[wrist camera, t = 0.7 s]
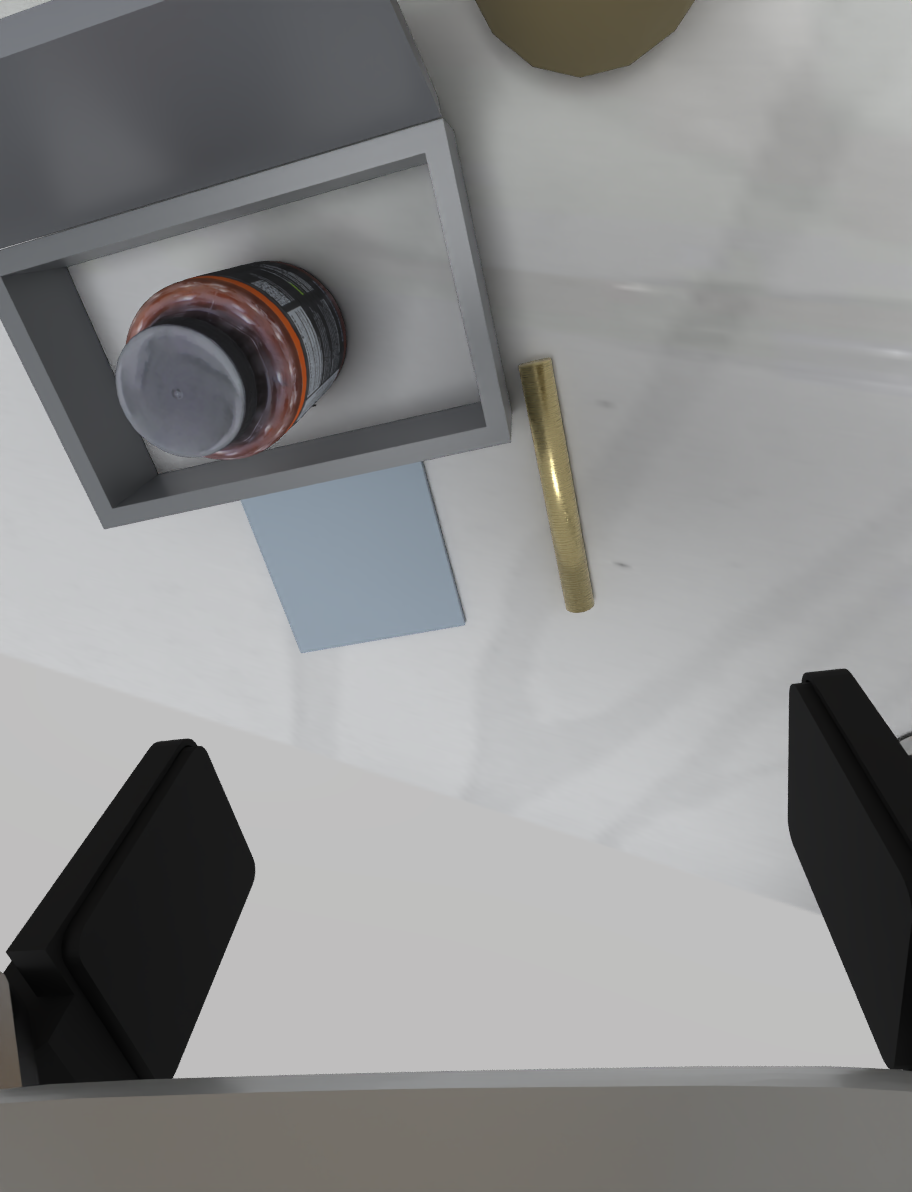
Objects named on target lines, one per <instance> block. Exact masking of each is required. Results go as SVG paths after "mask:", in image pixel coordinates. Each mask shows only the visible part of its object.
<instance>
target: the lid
mask: <svg viewBox="0 0 912 1192" xmlns="http://www.w3.org/2000/svg"><path fill="white" fill-rule="evenodd" d="M440 117H442V116H441V111H440V106H439V101H438V96H437V94H436V91H435V89H434V87H433V84H432V82H431V80H430V77H429V75H428V72H427V70H426V68H425V65H424V63H423V61H422V58H421V56H420V54H419V51H418V49H417V47H416V44H415V42H414V40H413V37H412V35H411V33H410V30H409V28H408V26H407V23H406V21H405V18H404V16H403V14H402V11H401V9H400V7H399V4H398V2H397V0H52V1H49V2H46V3H43V4H41V5H38V6H35V7H32V8H30V9H27V10H24V11H21V12H19V13H16V14H13V15H10V16H8V17H5V18H2V19H0V249H1V248H5V247H8V246H11V245H15V244H18V243H21V242H25V241H28V240H31V239H35V238H38V237H41V236H45V235H48V234H51V233H55V232H58V231H62V230H65V229H68V228H72V227H75V226H78V225H82V224H85V223H88V222H92V221H95V220H98V219H102V218H105V217H108V216H112V215H115V214H118V213H122V212H125V211H128V210H132V209H135V208H138V207H142V206H145V205H149V204H152V203H155V202H159V201H162V200H165V199H169V198H172V197H175V196H179V195H182V194H185V193H189V192H192V191H195V190H199V189H202V188H205V187H209V186H212V185H215V184H219V183H222V182H225V181H229V180H232V179H235V178H239V177H242V176H246V175H249V174H252V173H256V172H259V171H262V170H266V169H269V168H272V167H276V166H279V165H282V164H286V163H289V162H292V161H296V160H299V159H302V158H306V157H309V156H312V155H316V154H319V153H322V152H326V151H329V150H332V149H336V148H339V147H343V146H346V145H349V144H353V143H356V142H359V141H363V140H366V139H369V138H373V137H376V136H379V135H383V134H386V133H389V132H393V131H396V130H399V129H403V128H406V127H409V126H413V125H416V124H419V123H423V122H426V121H430V120H433V119H436V118H440Z"/></svg>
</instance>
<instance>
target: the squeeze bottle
mask: <svg viewBox="0 0 912 1192" xmlns="http://www.w3.org/2000/svg"><path fill="white" fill-rule="evenodd" d="M475 1H476V3H477V5H478V7H479V8H480V10H481V12H482V14H483V16H484V18H485V20H486V22H487V24H488V26H489V27H490V29H491V31H492V33H493V34H494V35H495V36H496V37H497V38H499V39H500V40H501V41H502V42H503V43H505V44H506V45H507V46H508V47H510V48H511V49H512V50H513V51H514V52H516V53H517V54H518V55H519V56H520V57H522V58H523V59H524V60H525V61H527V62H528V63H529V64H530V65H531V66H533V67H537V68H541V69H545V70H550V71H554V72H558V73H563V74H567V75H571V76H576V77H584V76H588V75H592V74H596V73H600V72H604V71H608V70H612V69H616V68H620V67H624V66H628V65H631V64H632V63H633V62H635V61H636V60H637V59H638V58H640V57H641V56H642V55H644V54H645V53H646V52H648V51H649V50H650V49H651V48H653V47H654V46H655V45H657V44H658V43H659V42H661V41H662V40H663V39H665V38H666V37H667V36H668V35H670V34H671V33H672V32H674V31H675V30H676V28H677V27H678V25H679V24H680V22H681V21H682V19H683V18H684V16H685V14H686V13H687V11H688V10H689V8H690V7H691V5H692V4H693V2H694V1H695V0H475Z"/></svg>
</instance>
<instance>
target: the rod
mask: <svg viewBox="0 0 912 1192" xmlns="http://www.w3.org/2000/svg"><path fill="white" fill-rule="evenodd" d="M518 367H519V372H520V377H521V382H522V387H523V392H524V397H525V402H526V407H527V412H528V417H529V422H530V428H531V433H532V438H533V443H534V448H535V453H536V458H537V463H538V468H539V473H540V478H541V483H542V488H543V494H544V499H545V504H546V509H547V514H548V519H549V524H550V529H551V534H552V539H553V544H554V549H555V554H556V559H557V565H558V570H559V575H560V580H561V585H562V590H563V595H564V600H565V605H566V609H567V610H568V611H569V612H573V613H580V612H584V611H587V610H589V609H591V608H592V607H593V606H594V599H593V594H592V588H591V582H590V577H589V571H588V566H587V560H586V554H585V549H584V543H583V537H582V532H581V526H580V520H579V515H578V509H577V503H576V498H575V492H574V486H573V481H572V475H571V469H570V464H569V458H568V452H567V447H566V441H565V435H564V430H563V424H562V418H561V413H560V407H559V401H558V396H557V390H556V384H555V379H554V373H553V367H552V362H551V358H544V359H540V360H535V361H531V362H527V363H522V364H520V365H519V366H518Z"/></svg>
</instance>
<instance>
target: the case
mask: <svg viewBox="0 0 912 1192" xmlns="http://www.w3.org/2000/svg"><path fill="white" fill-rule="evenodd" d="M425 163H428V168H429V172H430V177H431V181H432V186H433V190H434V194H435V199H436V203H437V208H438V212H439V217H440V221H441V226H442V230H443V235H444V239H445V244H446V248H447V252H448V257H449V261H450V266H451V270H452V275H453V279H454V284H455V288H456V293H457V297H458V301H459V306H460V310H461V315H462V319H463V324H464V328H465V333H466V337H467V342H468V346H469V351H470V355H471V359H472V364H473V368H474V373H475V377H476V382H477V386H478V391H479V395H480V400H481V402H478V403H473V404H469V405H465V406H460V407H456V408H451V409H447V410H442V411H438V412H433V413H429V414H425V415H420V416H416V417H411V418H407V419H402V420H398V421H394V422H389V423H385V424H380V425H376V426H371V427H367V428H363V429H358V430H354V431H349V432H345V433H340V434H336V435H331V436H327V437H323V438H318V439H314V440H309V441H305V442H300V443H296V444H292V445H287V446H283V447H278V448H274V449H269V450H265V451H262V452H259V453H258V454H255V455H253V456H250V457H246V458H241V459H233V460H221V461H216V462H212V463H207V464H203V465H198V466H194V467H190V468H185V469H181V470H176V471H172V472H167V473H163V474H159V475H158V474H157V471H156V469H155V467H154V464H153V462H152V460H151V458H150V455H149V453H148V451H147V449H146V446H145V444H144V442H143V440H142V437H141V435H140V434H139V433H138V432H137V431H136V430H135V429H134V427H133V426H132V425H131V423H130V421H129V420H128V419H127V417H126V415H125V413H124V411H123V409H122V407H121V405H120V402H119V398H118V396H117V390H116V383H115V379H116V378H115V376H114V374H113V372H112V369H111V367H110V365H109V363H108V360H107V358H106V356H105V354H104V351H103V349H102V347H101V345H100V342H99V340H98V338H97V335H96V333H95V331H94V329H93V326H92V324H91V322H90V320H89V317H88V315H87V313H86V311H85V308H84V306H83V304H82V302H81V299H80V297H79V295H78V292H77V290H76V288H75V286H74V283H73V281H72V279H71V277H70V274H69V272H68V270H67V268H66V267H68V266H72V265H75V264H79V263H82V262H86V261H89V260H93V259H96V258H99V257H103V256H106V255H110V254H113V253H117V252H120V251H124V250H127V249H131V248H134V247H138V246H141V245H145V244H148V243H151V242H155V241H158V240H162V239H165V238H169V237H172V236H176V235H179V234H183V233H186V232H190V231H193V230H197V229H200V228H203V227H207V226H210V225H214V224H217V223H221V222H224V221H228V220H231V219H235V218H238V217H242V216H245V215H249V214H252V213H255V212H259V211H262V210H266V209H269V208H273V207H276V206H280V205H283V204H287V203H290V202H294V201H297V200H301V199H304V198H307V197H311V196H314V195H318V194H321V193H325V192H328V191H332V190H335V189H339V188H342V187H346V186H349V185H353V184H356V183H359V182H363V181H366V180H370V179H373V178H377V177H380V176H384V175H387V174H391V173H394V172H398V171H401V170H405V169H408V168H411V167H415V166H418V165H422V164H425ZM0 319H1V321H2V323H3V325H4V327H5V329H6V331H7V333H8V335H9V337H10V339H11V342H12V344H13V346H14V348H15V350H16V352H17V354H18V356H19V358H20V360H21V362H22V364H23V366H24V368H25V370H26V372H27V374H28V376H29V378H30V380H31V382H32V384H33V386H34V388H35V390H36V392H37V394H38V396H39V398H40V400H41V402H42V404H43V406H44V408H45V410H46V412H47V414H48V416H49V418H50V420H51V423H52V425H53V427H54V429H55V431H56V433H57V435H58V437H59V439H60V441H61V443H62V445H63V447H64V449H65V451H66V453H67V455H68V457H69V459H70V461H71V463H72V465H73V467H74V469H75V471H76V473H77V475H78V477H79V479H80V481H81V483H82V485H83V487H84V489H85V491H86V493H87V495H88V497H89V499H90V502H91V504H92V506H93V508H94V510H95V512H96V514H97V516H98V518H99V520H100V522H101V524H102V526H103V528H104V529H108V528H112V527H117V526H122V525H126V524H131V523H136V522H140V521H145V520H150V519H154V518H159V517H164V516H168V515H173V514H178V513H182V512H187V511H192V510H197V509H201V508H206V507H211V506H215V505H220V504H225V503H229V502H234V501H239V500H243V499H248V498H253V497H257V496H262V495H267V494H271V493H276V492H281V491H285V490H290V489H295V488H299V487H304V486H309V485H313V484H318V483H323V482H327V481H332V480H337V479H341V478H346V477H351V476H355V475H360V474H365V473H370V472H374V471H379V470H384V469H388V468H393V467H398V466H402V465H407V464H412V463H416V462H421V461H426V460H430V459H435V458H440V457H444V456H449V455H454V454H458V453H463V452H468V451H472V450H477V449H482V448H486V447H491V446H496V445H500V444H505V443H510V442H511V429H512V410H511V405H510V401H509V396H508V391H507V386H506V381H505V376H504V372H503V367H502V362H501V357H500V352H499V347H498V343H497V338H496V333H495V328H494V323H493V318H492V314H491V309H490V304H489V299H488V294H487V289H486V284H485V280H484V275H483V270H482V265H481V260H480V255H479V251H478V246H477V241H476V236H475V231H474V226H473V222H472V217H471V212H470V207H469V202H468V197H467V193H466V188H465V183H464V178H463V173H462V168H461V163H460V159H459V154H458V149H457V144H456V139H455V134H454V130H453V129H452V128H451V127H450V126H449V124H448V123H447V122H446V121H445V120H444V119H443V118H440V119H437V120H434V121H430V122H427V123H424V124H420V125H417V126H413V127H410V128H407V129H403V130H400V131H397V132H393V133H390V134H387V135H383V136H380V137H377V138H373V139H370V140H367V141H363V142H360V143H357V144H353V145H350V146H347V147H343V148H340V149H336V150H333V151H330V152H326V153H323V154H320V155H316V156H313V157H310V158H306V159H303V160H300V161H296V162H293V163H290V164H286V165H283V166H280V167H276V168H273V169H269V170H266V171H263V172H259V173H256V174H253V175H249V176H246V177H243V178H239V179H236V180H233V181H229V182H226V183H223V184H219V185H216V186H213V187H209V188H206V189H203V190H199V191H196V192H192V193H189V194H186V195H182V196H179V197H176V198H172V199H169V200H166V201H162V202H159V203H156V204H152V205H149V206H146V207H142V208H139V209H136V210H132V211H129V212H125V213H122V214H119V215H115V216H112V217H109V218H105V219H102V220H99V221H95V222H92V223H89V224H85V225H82V226H79V227H75V228H72V229H69V230H65V231H62V232H59V233H55V234H52V235H48V236H45V237H42V238H38V239H35V240H32V241H28V242H25V243H22V244H18V245H15V246H12V247H8V248H5V249H2V250H0Z"/></svg>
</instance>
